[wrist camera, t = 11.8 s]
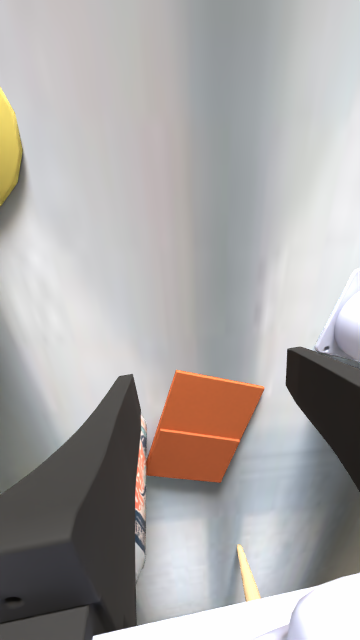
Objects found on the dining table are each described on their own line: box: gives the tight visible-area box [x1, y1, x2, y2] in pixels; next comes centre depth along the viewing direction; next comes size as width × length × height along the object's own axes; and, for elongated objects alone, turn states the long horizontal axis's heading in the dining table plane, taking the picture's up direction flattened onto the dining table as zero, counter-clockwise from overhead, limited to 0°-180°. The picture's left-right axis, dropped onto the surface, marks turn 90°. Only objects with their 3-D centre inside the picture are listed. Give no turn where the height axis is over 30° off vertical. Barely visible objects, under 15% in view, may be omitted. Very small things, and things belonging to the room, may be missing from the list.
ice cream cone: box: [237, 544, 261, 602], centre depth 28 cm, size 6×6×15 cm
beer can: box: [135, 415, 147, 583], centre depth 20 cm, size 5×5×12 cm
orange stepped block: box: [146, 370, 264, 483], centre depth 26 cm, size 9×13×1 cm
